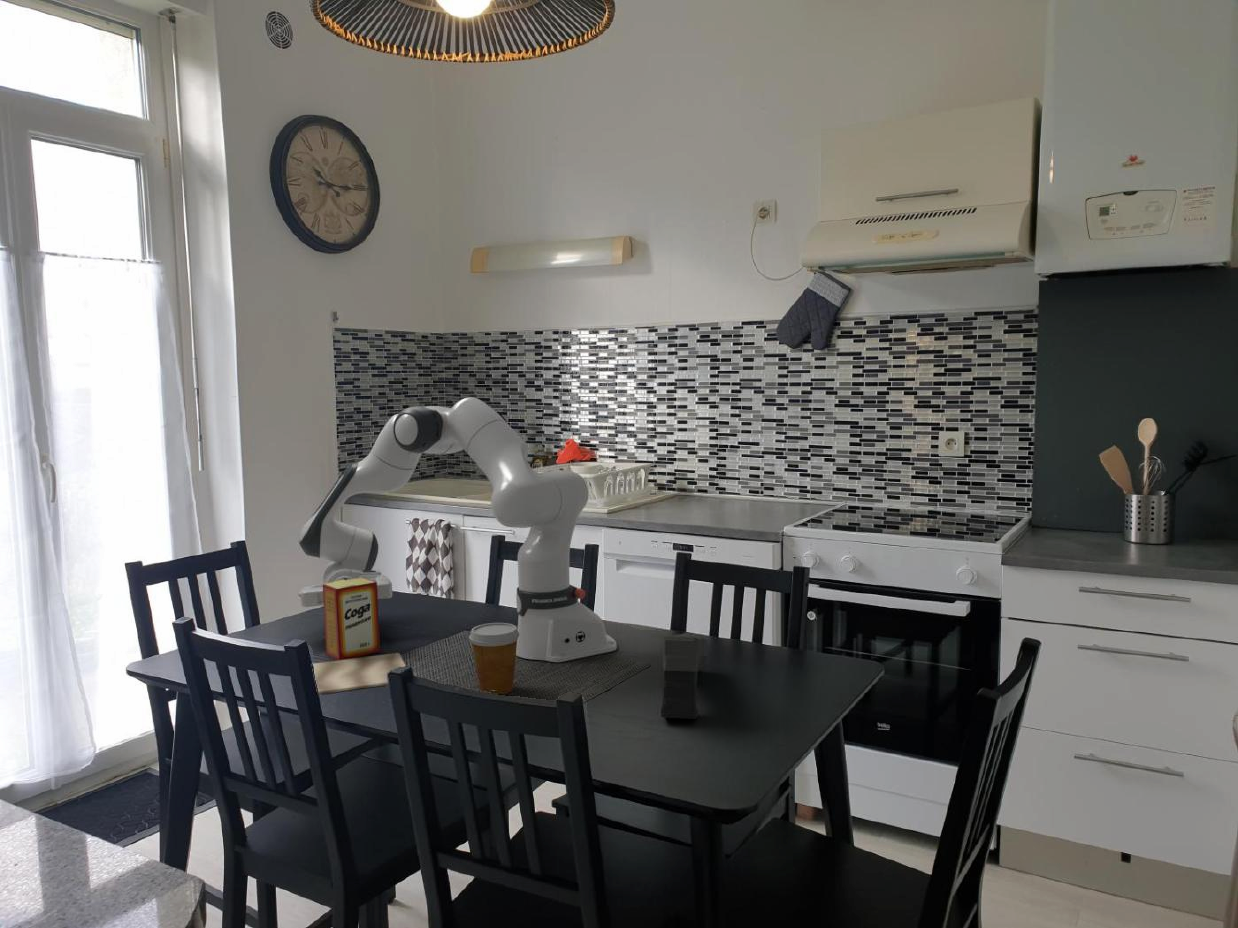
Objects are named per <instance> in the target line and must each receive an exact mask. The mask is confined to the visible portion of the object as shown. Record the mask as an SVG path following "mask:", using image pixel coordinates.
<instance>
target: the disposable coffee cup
mask: <svg viewBox="0 0 1238 928" xmlns="http://www.w3.org/2000/svg"><path fill="white" fill-rule="evenodd" d="M517 629H518V626H516V625H514V624H512V623H507V622H490V623H489V622H488V623H482V624H479V625H476V626H474V627H472V629H471V631H470V635H469V636H468V639H469V640H470V643H471V645H472V651H473V658H474V663H475V670H476V674H477V675H476V676H477V682H478V687H479V691H480V690H481V691H487V692H491V693H497V694H502V695H506V694H508V693H510V692H512V691H513V690H514V680H515V669H516V657H517V655H516V647H517V640H518V637H519V632H518V631H517ZM491 690H495V691H491Z"/></svg>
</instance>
